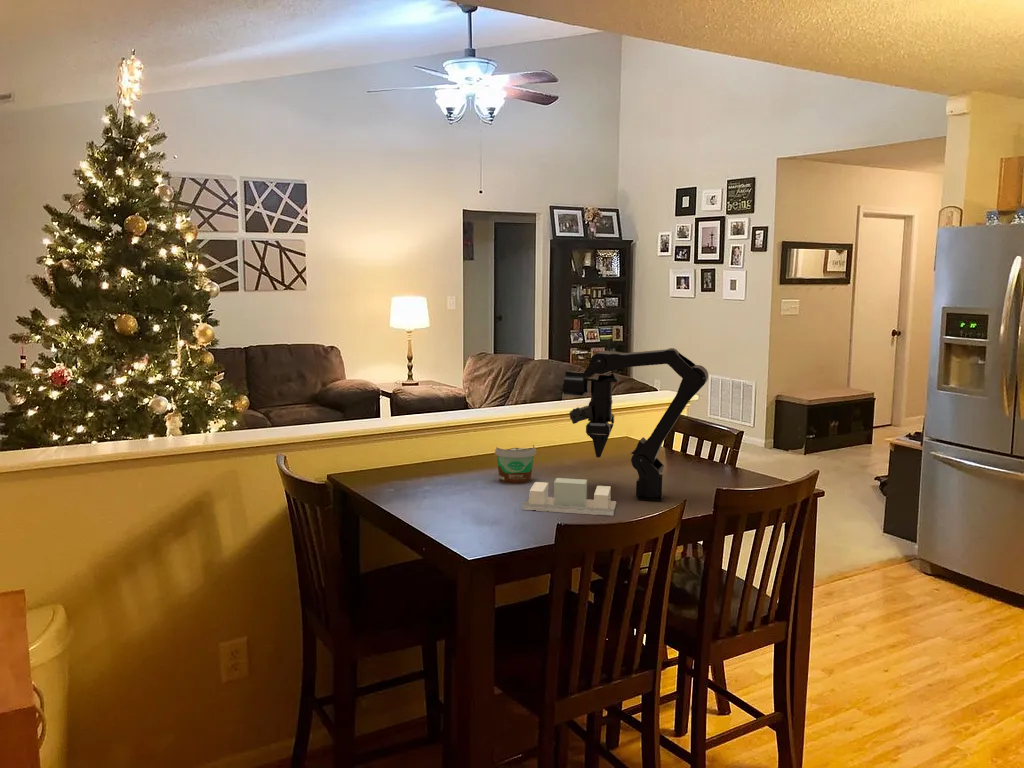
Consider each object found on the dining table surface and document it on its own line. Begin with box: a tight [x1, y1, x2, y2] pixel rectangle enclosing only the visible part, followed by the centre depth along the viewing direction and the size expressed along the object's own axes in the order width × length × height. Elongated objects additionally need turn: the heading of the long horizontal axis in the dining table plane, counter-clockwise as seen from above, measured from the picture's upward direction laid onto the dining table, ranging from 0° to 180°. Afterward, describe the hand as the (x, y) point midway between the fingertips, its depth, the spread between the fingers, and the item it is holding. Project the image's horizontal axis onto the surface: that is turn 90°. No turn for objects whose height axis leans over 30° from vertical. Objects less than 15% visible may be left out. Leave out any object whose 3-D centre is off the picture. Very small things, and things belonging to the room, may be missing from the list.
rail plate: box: [522, 496, 617, 517], centre depth 215 cm, size 23×10×2 cm, turn 79°
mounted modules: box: [528, 481, 612, 509], centre depth 215 cm, size 20×9×4 cm, turn 79°
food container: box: [494, 445, 537, 485], centre depth 240 cm, size 12×6×10 cm, turn 105°
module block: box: [553, 477, 588, 506], centre depth 215 cm, size 4×8×6 cm, turn 79°
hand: (599, 453), depth 228 cm, fingers open, 9 cm apart
